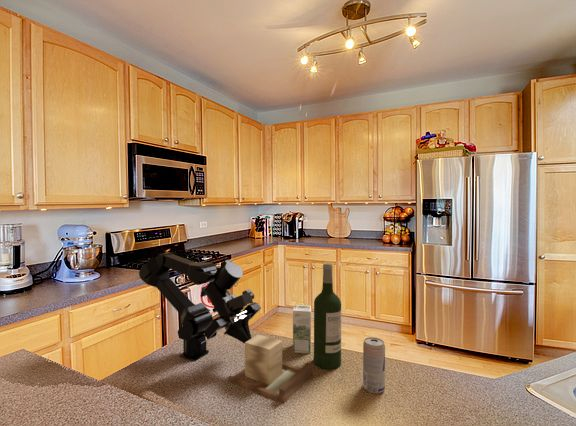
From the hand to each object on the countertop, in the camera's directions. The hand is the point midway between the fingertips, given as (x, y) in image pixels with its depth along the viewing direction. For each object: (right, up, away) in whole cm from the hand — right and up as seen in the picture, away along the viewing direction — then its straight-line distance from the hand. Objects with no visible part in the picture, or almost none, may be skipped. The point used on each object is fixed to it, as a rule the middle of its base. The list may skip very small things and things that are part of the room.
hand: (251, 344), depth 83 cm
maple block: (+4, -7, -2) cm, 8 cm away
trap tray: (+6, -8, -3) cm, 11 cm away
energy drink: (+32, -9, -6) cm, 34 cm away
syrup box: (+15, -8, +13) cm, 22 cm away
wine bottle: (+22, -9, +5) cm, 24 cm away
